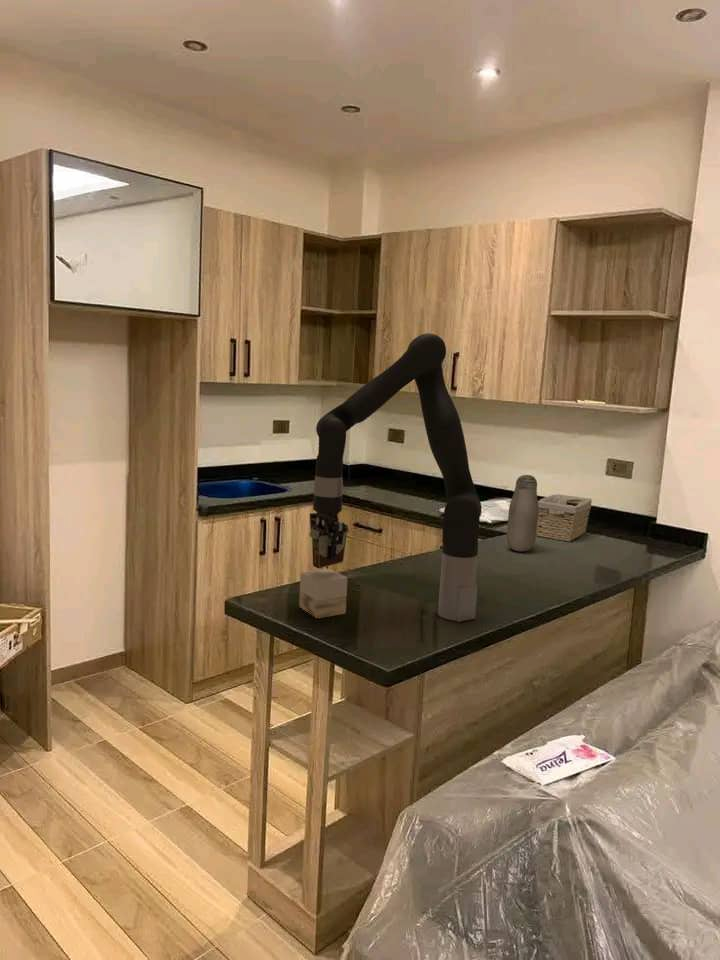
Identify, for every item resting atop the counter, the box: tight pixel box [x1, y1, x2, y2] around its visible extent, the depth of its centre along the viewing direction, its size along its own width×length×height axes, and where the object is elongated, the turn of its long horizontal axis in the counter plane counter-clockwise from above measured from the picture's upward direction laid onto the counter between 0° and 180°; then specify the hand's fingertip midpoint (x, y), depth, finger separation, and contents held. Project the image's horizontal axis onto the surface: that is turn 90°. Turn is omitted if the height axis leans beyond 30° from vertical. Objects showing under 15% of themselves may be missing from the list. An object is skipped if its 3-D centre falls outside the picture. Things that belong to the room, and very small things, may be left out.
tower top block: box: [299, 568, 348, 601], centre depth 194 cm, size 9×9×5 cm
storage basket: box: [536, 493, 592, 542], centre depth 296 cm, size 24×16×15 cm
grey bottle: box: [506, 474, 539, 553], centre depth 266 cm, size 10×10×28 cm
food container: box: [309, 524, 350, 570], centre depth 193 cm, size 12×6×10 cm, turn 140°
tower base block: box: [298, 590, 347, 619], centre depth 195 cm, size 9×9×5 cm
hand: (325, 556), depth 193 cm, fingers closed on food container, 5 cm apart
